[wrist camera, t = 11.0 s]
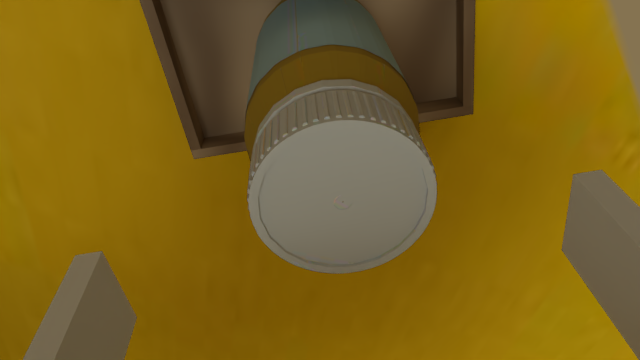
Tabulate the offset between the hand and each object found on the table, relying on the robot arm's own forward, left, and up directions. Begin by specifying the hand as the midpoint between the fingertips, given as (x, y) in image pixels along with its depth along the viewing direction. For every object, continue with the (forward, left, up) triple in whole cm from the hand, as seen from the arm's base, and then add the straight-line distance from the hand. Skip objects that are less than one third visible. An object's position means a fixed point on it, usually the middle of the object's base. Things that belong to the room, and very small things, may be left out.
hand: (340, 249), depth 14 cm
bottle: (0, 0, -17) cm, 17 cm away
